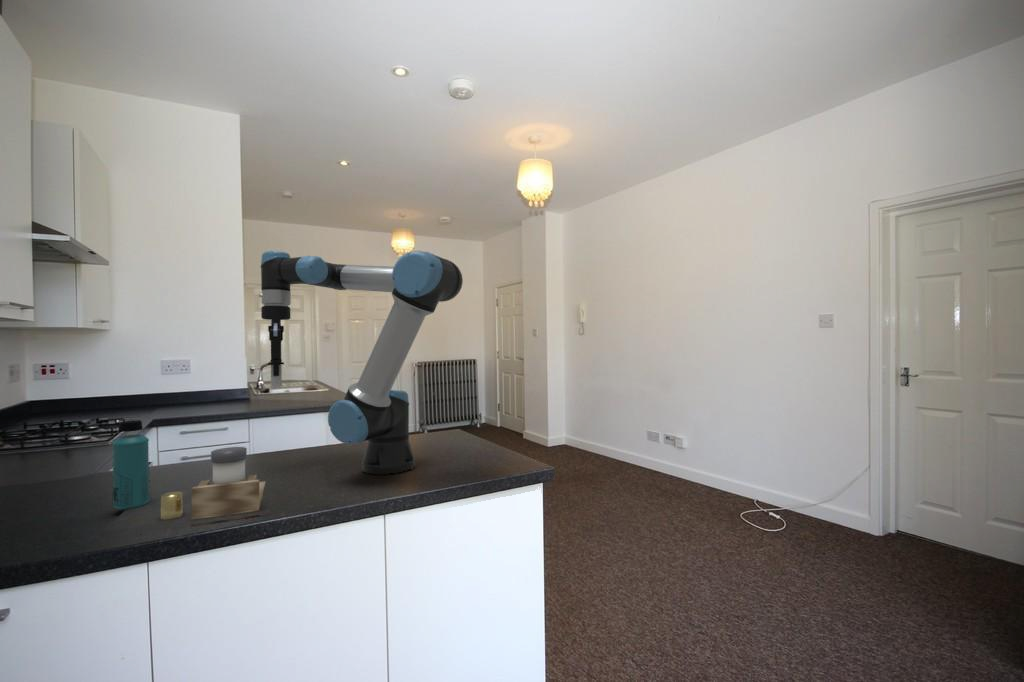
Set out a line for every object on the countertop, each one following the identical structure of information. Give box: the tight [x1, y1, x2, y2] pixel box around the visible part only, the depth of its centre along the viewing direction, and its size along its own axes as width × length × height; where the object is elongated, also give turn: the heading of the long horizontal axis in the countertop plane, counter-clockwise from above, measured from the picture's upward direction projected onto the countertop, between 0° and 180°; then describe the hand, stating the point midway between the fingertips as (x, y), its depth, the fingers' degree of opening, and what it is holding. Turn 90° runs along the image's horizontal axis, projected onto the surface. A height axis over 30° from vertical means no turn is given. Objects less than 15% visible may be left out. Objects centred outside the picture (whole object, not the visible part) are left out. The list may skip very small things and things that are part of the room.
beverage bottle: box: [111, 419, 151, 510], centre depth 104 cm, size 6×7×20 cm
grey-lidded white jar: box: [210, 446, 248, 485], centre depth 102 cm, size 7×7×12 cm
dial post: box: [160, 491, 183, 520], centre depth 97 cm, size 4×4×6 cm
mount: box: [190, 474, 266, 528], centre depth 108 cm, size 12×24×8 cm, turn 24°
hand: (276, 387), depth 136 cm, fingers closed
